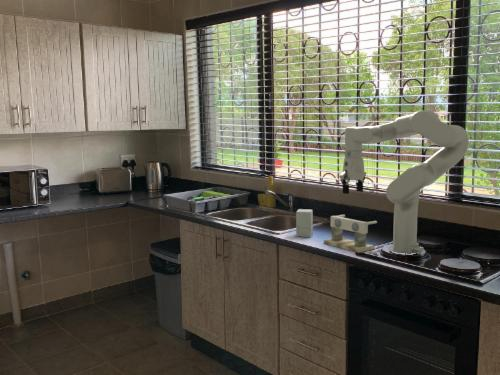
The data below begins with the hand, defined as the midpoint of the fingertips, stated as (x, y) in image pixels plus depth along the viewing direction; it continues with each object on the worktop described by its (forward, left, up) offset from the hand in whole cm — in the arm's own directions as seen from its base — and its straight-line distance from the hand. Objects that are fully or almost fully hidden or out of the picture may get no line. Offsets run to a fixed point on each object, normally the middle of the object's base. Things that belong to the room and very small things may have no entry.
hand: (352, 192), depth 226 cm
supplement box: (+26, +6, -24) cm, 36 cm away
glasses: (-2, +2, -16) cm, 16 cm away
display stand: (-2, +5, -24) cm, 24 cm away
